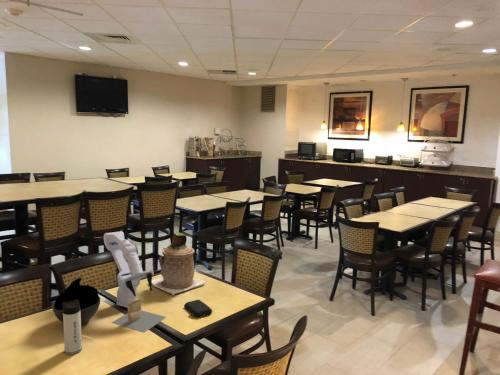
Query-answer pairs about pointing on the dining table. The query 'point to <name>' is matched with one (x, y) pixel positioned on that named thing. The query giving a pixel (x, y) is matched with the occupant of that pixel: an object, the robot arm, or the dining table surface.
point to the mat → (140, 321)
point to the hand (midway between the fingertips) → (143, 292)
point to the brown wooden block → (134, 310)
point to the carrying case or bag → (198, 308)
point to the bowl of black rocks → (78, 300)
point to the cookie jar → (177, 267)
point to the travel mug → (72, 327)
